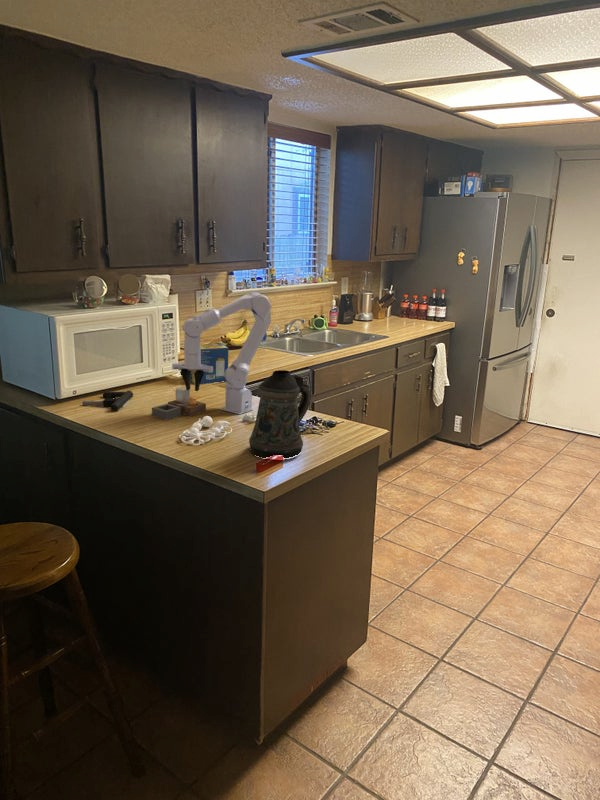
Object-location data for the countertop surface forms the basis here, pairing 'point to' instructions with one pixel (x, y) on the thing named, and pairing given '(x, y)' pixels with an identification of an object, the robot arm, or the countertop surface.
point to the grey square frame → (166, 411)
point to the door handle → (112, 400)
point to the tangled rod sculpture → (197, 434)
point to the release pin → (192, 401)
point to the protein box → (213, 362)
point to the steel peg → (182, 395)
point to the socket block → (190, 408)
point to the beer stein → (280, 416)
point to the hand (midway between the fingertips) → (192, 390)
